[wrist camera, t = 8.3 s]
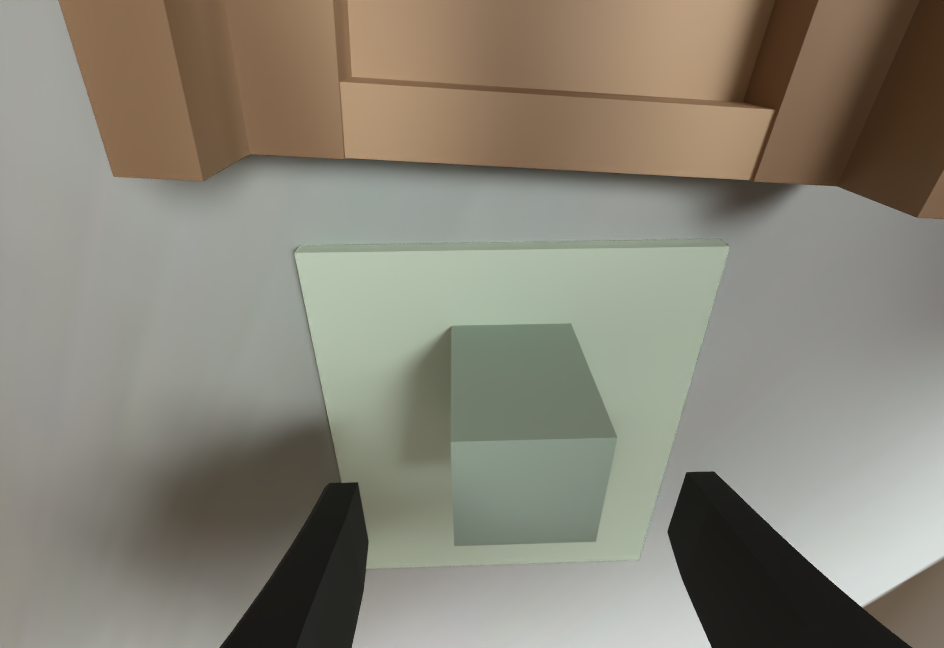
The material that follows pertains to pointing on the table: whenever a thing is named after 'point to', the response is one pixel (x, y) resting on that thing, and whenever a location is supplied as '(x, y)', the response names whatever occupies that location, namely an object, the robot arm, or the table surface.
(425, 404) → the lid
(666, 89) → the box
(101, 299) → the table surface
